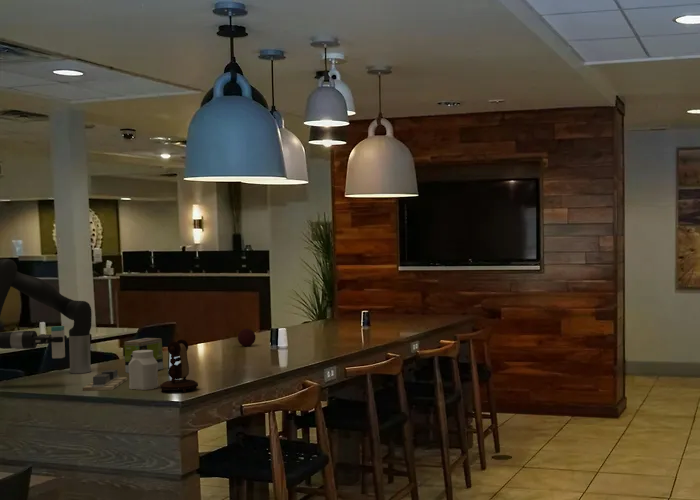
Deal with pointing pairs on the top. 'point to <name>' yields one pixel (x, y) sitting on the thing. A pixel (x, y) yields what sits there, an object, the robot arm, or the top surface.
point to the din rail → (105, 378)
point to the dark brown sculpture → (178, 368)
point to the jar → (143, 370)
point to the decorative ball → (246, 337)
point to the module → (58, 347)
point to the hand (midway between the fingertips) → (64, 338)
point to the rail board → (107, 387)
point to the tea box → (144, 344)
